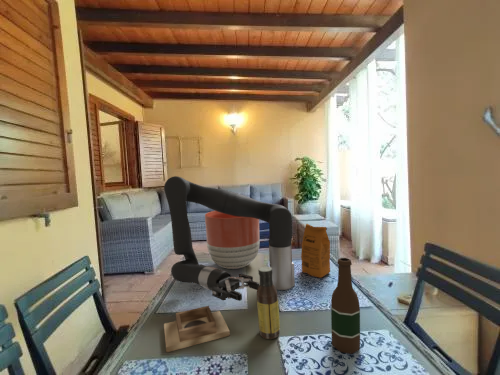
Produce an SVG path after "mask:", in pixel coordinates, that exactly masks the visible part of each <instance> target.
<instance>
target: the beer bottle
mask: <svg viewBox="0 0 500 375" xmlns="http://www.w3.org/2000/svg"><path fill="white" fill-rule="evenodd" d="M337 265H338V268H337V270H338V273H337V285H336V287H335V289H334V290H333V292H332V294H331V300H330V301H331V302H330V306H331V307H330V311H331V312H330V314H331V316H330V319H331V345H332V347H334V348H335V349H336V350H337V351H338V352H340V353H344V354H345V353H346V354H350V355H352V354H355V353H357V352H358V351H360V350H361V308H360V302H359V297H358V294H357V292H356V291H355V289H354V288H353V281H352V268H351V266H352V265H353V263H352V259H351V258H348V257H340V258H338V259H337Z"/></svg>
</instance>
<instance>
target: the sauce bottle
mask: <svg viewBox="0 0 500 375" xmlns="http://www.w3.org/2000/svg"><path fill="white" fill-rule="evenodd" d="M257 272H258V275H259V287H258V289H257V290H256V305H257V318H258V319H257V320H258V329H259V335H260V336H261V337H262V339H264V340H275V339H276V338H277V337H279V335H280V332H281V331H280V328H281V324H280V323H281V322H280V312H279V311H280V310H279V308H280V307H279V297H278V290H277V289H276V288H275V286H274V285H273V281H272V273H273V272H272V268H271V267H270V266H261V267H258V271H257Z"/></svg>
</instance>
